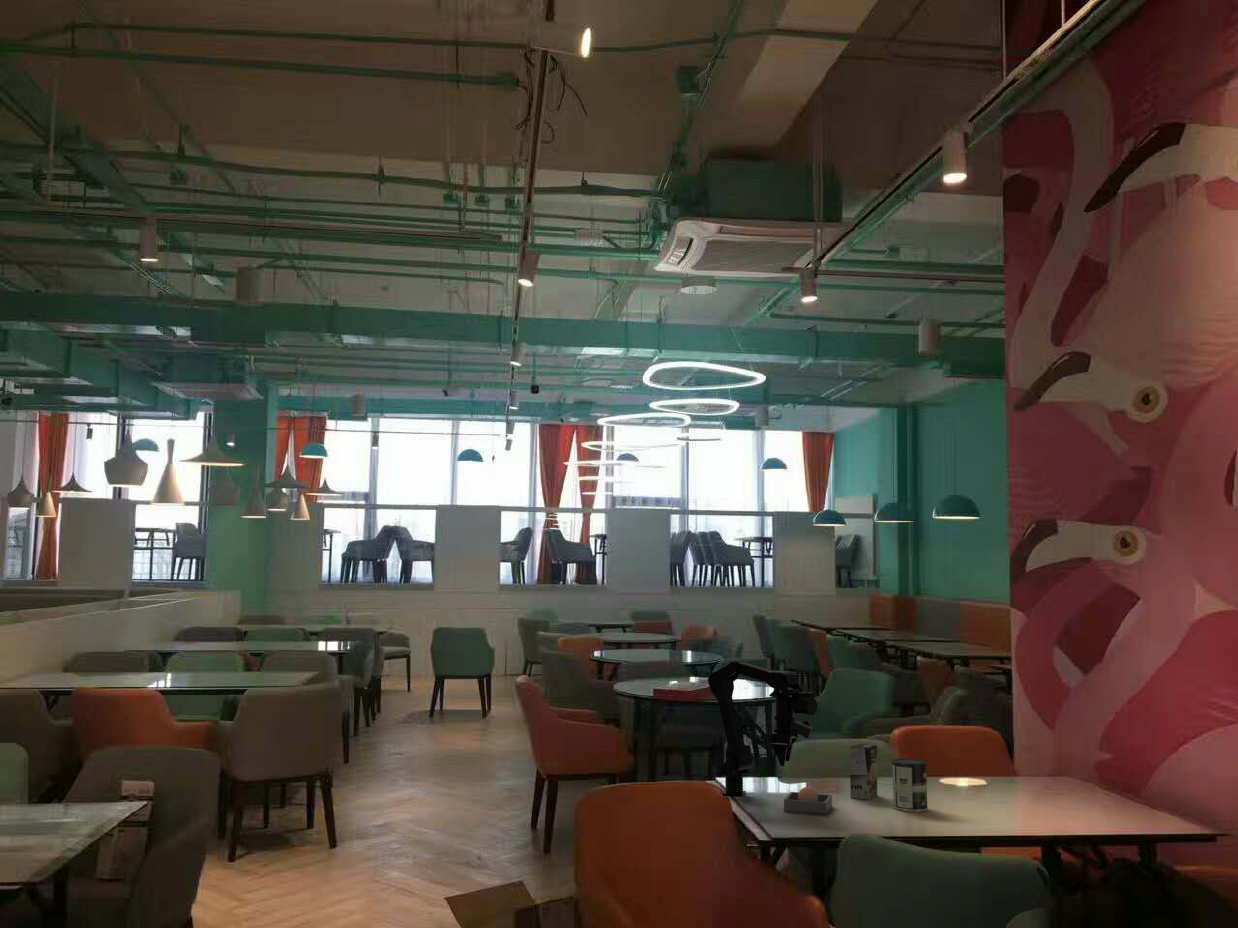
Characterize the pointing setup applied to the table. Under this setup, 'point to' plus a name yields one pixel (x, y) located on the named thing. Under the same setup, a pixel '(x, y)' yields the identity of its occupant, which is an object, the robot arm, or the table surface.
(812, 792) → the ball
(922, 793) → the coffee can
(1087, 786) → the table surface
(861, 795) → the coffee box
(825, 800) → the grey open square tray
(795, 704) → the robot arm
